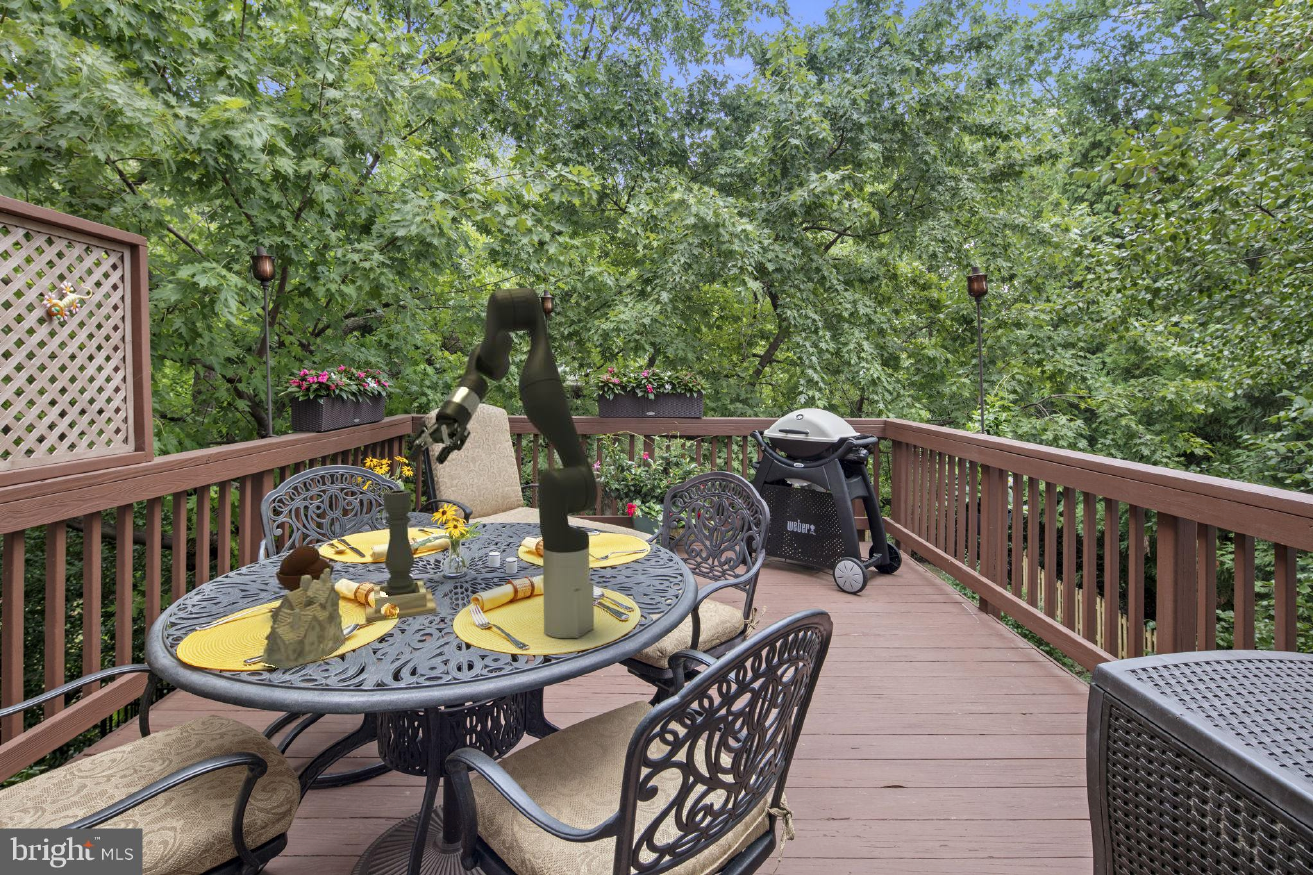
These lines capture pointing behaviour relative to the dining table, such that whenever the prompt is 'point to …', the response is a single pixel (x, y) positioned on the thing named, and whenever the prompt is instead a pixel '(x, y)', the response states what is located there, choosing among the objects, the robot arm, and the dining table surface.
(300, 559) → the ice cream bowl
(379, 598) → the socket base
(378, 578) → the dining table surface
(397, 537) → the candle holder
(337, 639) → the ceramic cottage
